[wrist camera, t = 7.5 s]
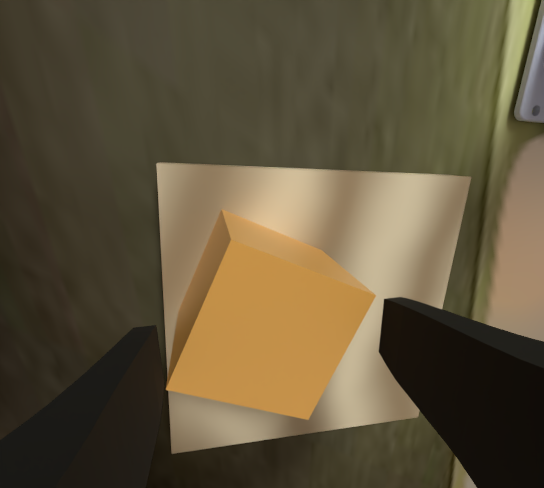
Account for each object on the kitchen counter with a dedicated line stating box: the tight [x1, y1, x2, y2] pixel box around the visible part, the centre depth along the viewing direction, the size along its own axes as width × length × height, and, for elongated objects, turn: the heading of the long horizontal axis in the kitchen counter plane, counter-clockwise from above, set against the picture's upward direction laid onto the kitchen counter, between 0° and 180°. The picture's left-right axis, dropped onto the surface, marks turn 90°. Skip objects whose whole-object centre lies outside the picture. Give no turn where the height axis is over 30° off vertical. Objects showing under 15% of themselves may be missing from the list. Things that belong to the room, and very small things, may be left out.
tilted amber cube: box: [166, 209, 376, 420], centre depth 12 cm, size 5×5×5 cm
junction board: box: [157, 162, 471, 454], centre depth 15 cm, size 15×15×6 cm
